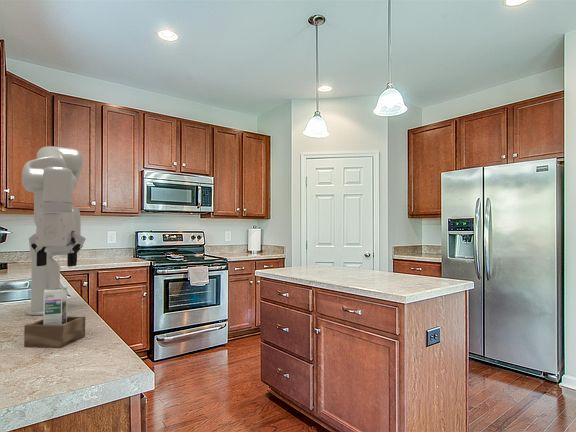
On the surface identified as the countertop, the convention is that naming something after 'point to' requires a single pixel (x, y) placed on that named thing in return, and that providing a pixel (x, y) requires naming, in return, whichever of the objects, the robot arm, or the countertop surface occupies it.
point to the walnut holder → (54, 333)
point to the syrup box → (55, 306)
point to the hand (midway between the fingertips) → (56, 266)
